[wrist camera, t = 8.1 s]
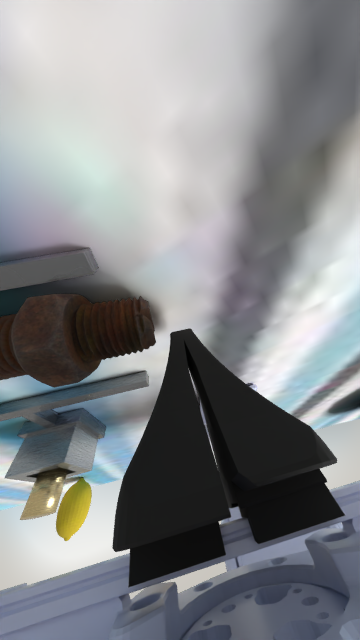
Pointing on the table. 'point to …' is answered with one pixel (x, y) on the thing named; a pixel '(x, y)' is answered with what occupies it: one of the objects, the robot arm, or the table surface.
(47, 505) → the press pin
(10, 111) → the table surface
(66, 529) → the lemon
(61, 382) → the bolt
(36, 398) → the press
